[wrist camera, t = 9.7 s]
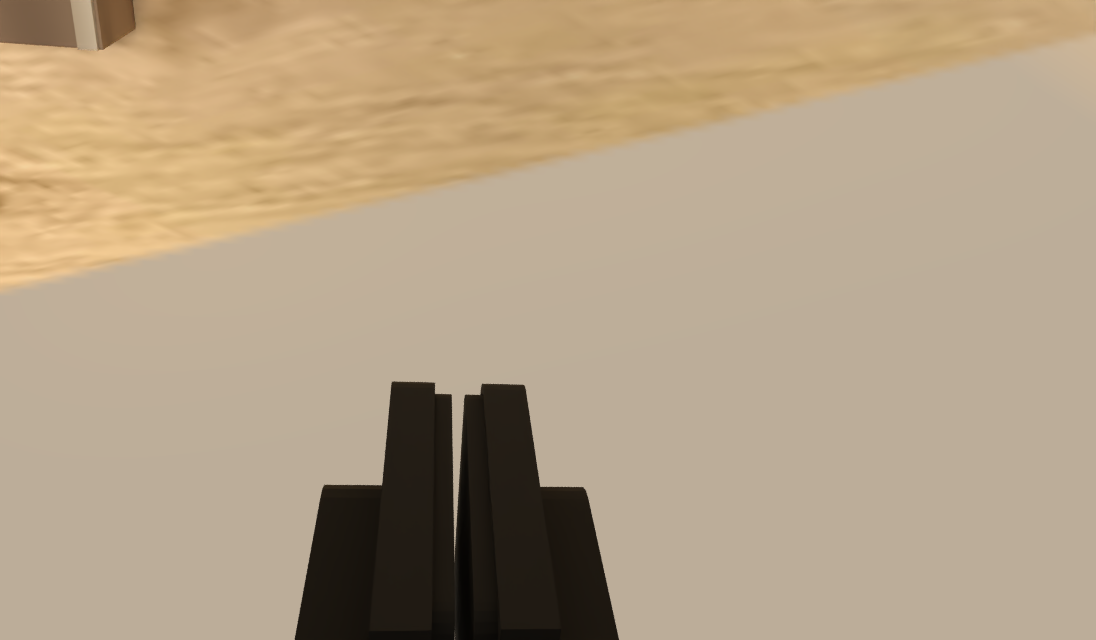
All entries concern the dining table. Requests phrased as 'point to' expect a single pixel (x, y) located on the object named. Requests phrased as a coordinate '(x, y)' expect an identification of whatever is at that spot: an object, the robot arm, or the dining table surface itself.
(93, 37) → the board
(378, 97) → the dining table surface
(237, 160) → the dining table surface
